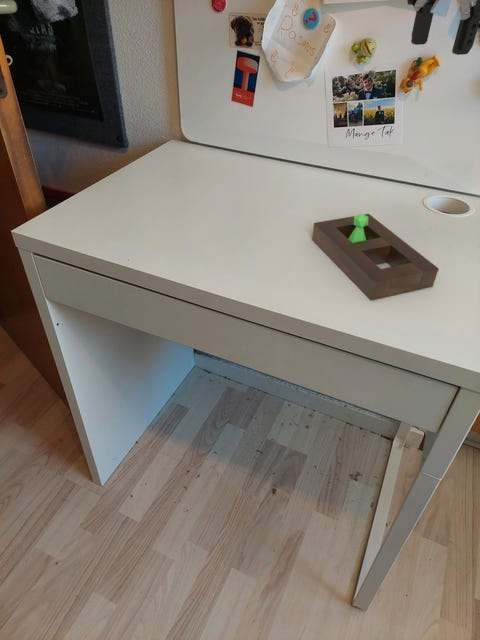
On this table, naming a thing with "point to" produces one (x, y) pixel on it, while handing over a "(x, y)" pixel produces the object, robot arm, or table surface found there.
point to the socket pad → (374, 258)
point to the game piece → (359, 228)
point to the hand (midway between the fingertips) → (438, 48)
